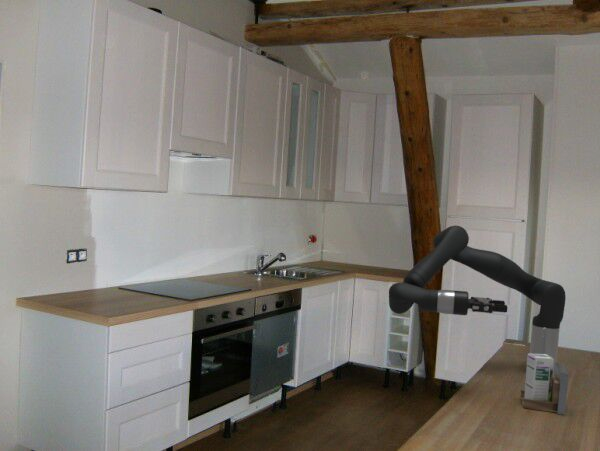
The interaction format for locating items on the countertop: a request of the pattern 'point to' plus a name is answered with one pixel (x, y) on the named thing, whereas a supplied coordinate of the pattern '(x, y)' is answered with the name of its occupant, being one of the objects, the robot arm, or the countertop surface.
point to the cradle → (543, 405)
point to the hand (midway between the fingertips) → (505, 306)
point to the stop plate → (561, 387)
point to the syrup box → (539, 377)
